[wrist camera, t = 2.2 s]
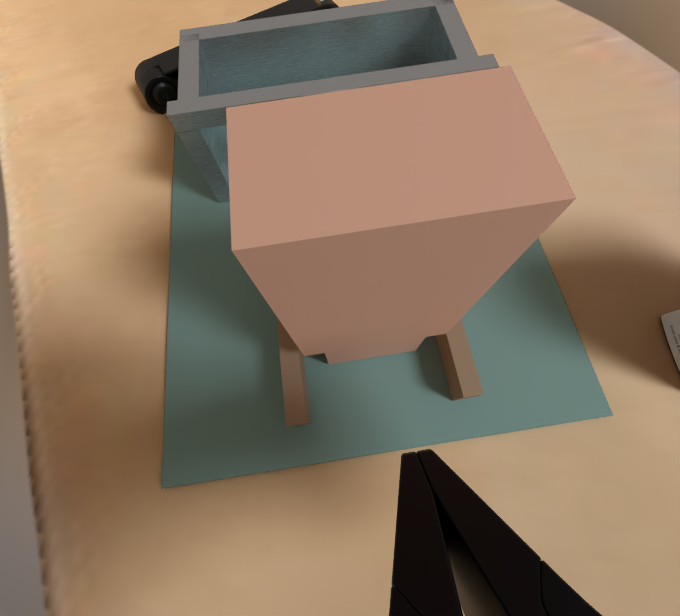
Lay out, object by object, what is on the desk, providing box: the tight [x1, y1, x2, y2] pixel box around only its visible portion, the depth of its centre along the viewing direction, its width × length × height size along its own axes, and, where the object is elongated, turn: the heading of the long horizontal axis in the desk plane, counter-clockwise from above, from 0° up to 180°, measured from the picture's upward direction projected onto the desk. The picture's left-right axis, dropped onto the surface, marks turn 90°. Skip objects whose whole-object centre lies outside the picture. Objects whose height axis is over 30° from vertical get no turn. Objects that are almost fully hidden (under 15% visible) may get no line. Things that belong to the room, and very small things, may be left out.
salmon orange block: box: [226, 66, 576, 364], centre depth 13 cm, size 4×7×13 cm, turn 99°
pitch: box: [162, 131, 613, 489], centre depth 21 cm, size 28×24×2 cm
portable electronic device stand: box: [135, 0, 338, 114], centre depth 28 cm, size 18×3×3 cm, turn 121°
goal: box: [166, 0, 499, 203], centre depth 22 cm, size 9×17×7 cm, turn 99°
